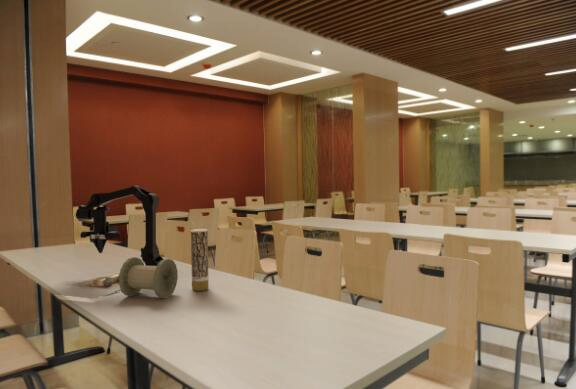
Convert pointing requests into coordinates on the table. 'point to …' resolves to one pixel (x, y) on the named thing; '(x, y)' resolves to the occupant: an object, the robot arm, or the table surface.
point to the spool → (148, 277)
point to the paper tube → (199, 259)
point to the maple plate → (101, 280)
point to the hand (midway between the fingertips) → (100, 253)
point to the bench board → (107, 282)
